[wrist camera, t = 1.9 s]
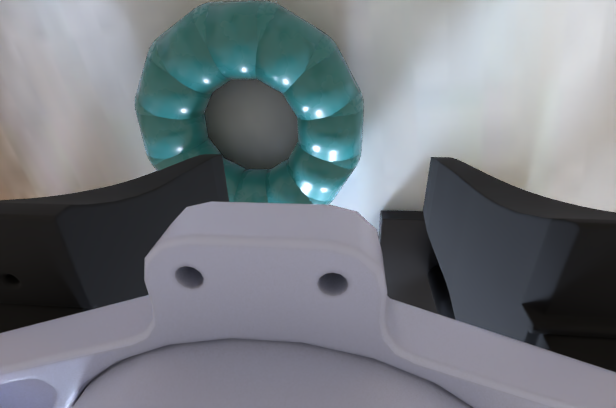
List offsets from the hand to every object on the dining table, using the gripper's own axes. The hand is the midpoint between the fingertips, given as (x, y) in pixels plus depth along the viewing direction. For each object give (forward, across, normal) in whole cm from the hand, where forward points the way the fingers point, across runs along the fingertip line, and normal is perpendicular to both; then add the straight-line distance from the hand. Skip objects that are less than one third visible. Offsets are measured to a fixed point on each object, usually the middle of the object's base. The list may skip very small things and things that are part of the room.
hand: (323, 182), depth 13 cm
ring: (+6, +4, 0) cm, 7 cm away
